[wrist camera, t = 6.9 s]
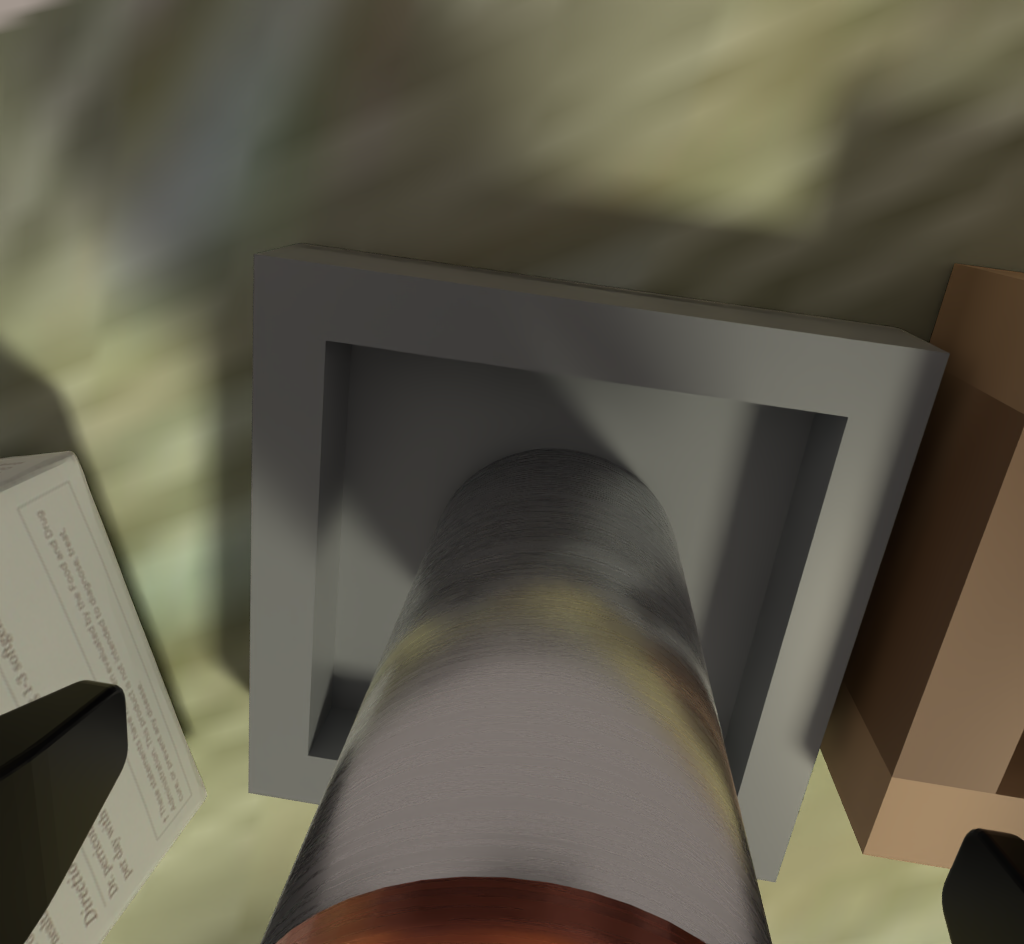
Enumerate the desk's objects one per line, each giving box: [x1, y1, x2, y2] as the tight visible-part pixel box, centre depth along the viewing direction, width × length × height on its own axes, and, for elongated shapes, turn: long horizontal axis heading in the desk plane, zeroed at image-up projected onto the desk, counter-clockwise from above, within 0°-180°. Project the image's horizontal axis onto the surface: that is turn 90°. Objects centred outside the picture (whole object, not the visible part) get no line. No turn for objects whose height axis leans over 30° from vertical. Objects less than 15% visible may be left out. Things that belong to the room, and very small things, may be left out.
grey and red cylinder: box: [261, 448, 772, 944], centre depth 9 cm, size 4×4×9 cm
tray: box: [249, 243, 950, 882], centre depth 13 cm, size 9×9×2 cm
